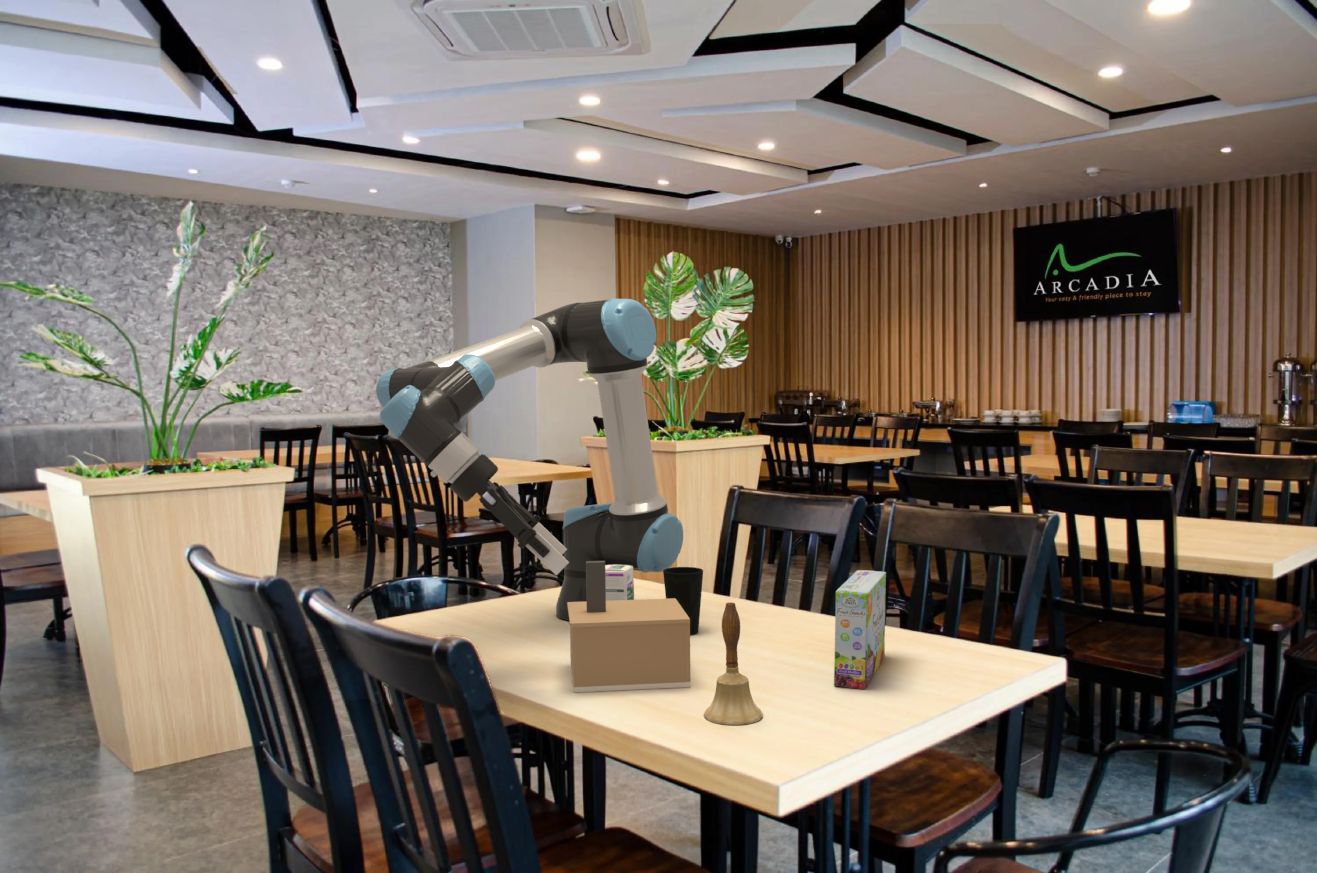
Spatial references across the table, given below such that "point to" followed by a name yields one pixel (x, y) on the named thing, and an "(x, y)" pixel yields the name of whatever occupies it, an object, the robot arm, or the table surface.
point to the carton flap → (619, 606)
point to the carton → (630, 657)
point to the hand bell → (732, 681)
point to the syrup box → (619, 582)
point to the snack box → (859, 628)
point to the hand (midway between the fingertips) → (562, 561)
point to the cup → (685, 591)
